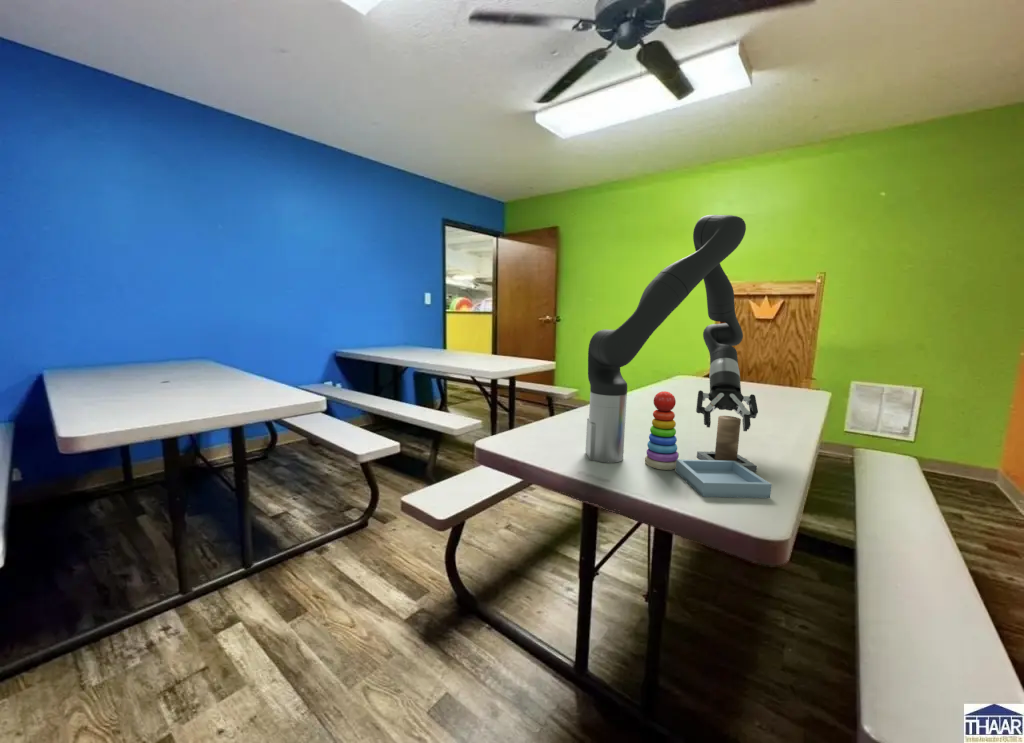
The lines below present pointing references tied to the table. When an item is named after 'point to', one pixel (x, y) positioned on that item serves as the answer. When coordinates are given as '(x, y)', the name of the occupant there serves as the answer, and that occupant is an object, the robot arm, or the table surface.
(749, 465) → the socket plate
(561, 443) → the table surface
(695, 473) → the tray
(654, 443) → the stacking toy
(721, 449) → the walnut peg
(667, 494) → the table surface
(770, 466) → the table surface
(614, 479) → the table surface
